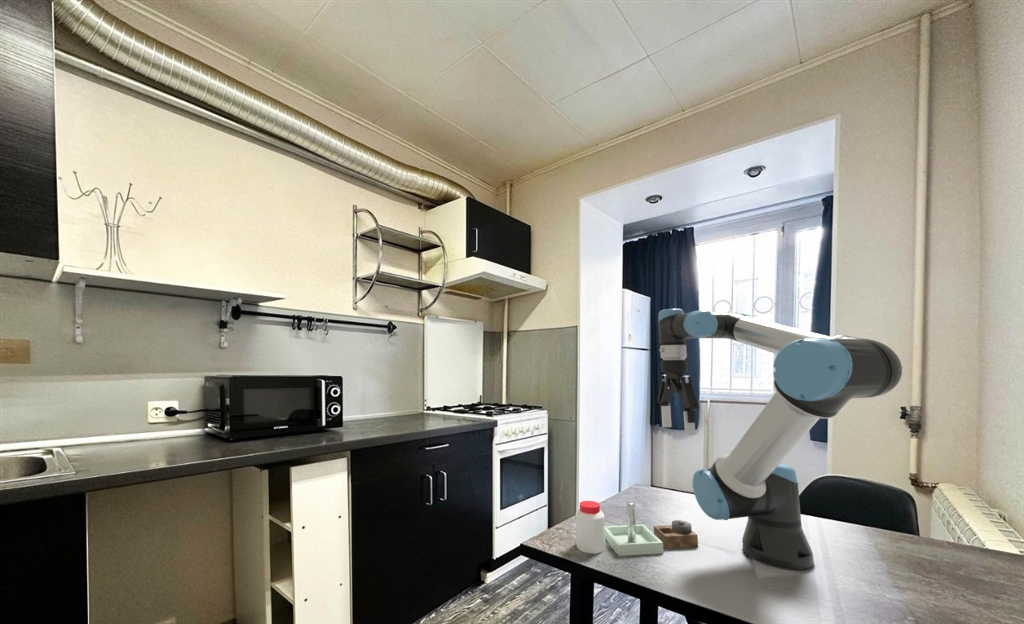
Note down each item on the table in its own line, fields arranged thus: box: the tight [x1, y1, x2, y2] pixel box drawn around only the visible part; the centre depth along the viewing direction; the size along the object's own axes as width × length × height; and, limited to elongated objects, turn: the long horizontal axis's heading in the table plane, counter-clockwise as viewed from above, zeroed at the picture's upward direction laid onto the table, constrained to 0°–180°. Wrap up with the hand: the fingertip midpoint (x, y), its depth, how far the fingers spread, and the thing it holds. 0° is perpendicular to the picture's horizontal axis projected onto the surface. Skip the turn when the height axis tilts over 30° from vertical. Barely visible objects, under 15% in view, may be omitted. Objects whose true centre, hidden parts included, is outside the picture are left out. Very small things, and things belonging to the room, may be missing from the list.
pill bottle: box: [575, 500, 607, 554], centre depth 108 cm, size 8×8×11 cm
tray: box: [605, 523, 664, 557], centre depth 109 cm, size 12×12×3 cm
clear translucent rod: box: [625, 501, 637, 543], centre depth 109 cm, size 2×2×10 cm
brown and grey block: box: [653, 519, 699, 549], centre depth 110 cm, size 9×7×5 cm
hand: (677, 430), depth 120 cm, fingers open, 13 cm apart
